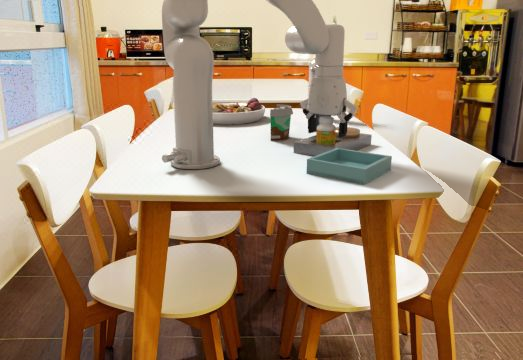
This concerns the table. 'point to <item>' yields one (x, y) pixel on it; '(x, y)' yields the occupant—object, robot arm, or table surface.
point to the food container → (280, 122)
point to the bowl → (237, 112)
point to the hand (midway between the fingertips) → (326, 134)
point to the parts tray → (349, 165)
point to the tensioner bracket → (350, 142)
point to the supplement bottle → (326, 131)
